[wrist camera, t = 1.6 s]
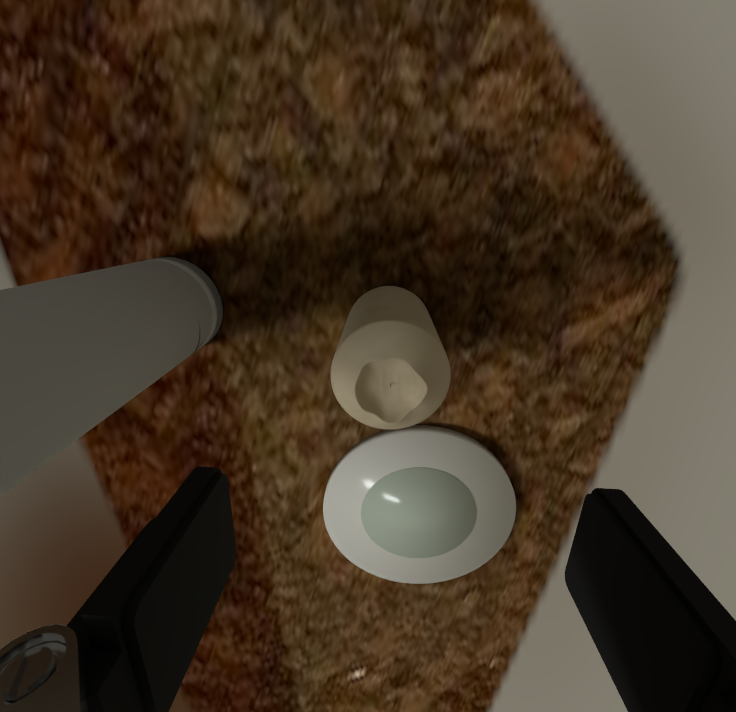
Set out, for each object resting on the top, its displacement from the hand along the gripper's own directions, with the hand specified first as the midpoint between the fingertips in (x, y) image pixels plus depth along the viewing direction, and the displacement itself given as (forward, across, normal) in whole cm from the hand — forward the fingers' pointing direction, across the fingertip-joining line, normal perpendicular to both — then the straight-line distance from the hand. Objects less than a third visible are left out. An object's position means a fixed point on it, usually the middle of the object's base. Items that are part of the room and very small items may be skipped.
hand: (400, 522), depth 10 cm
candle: (+17, 0, -1) cm, 17 cm away
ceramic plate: (+17, -3, +14) cm, 22 cm away
